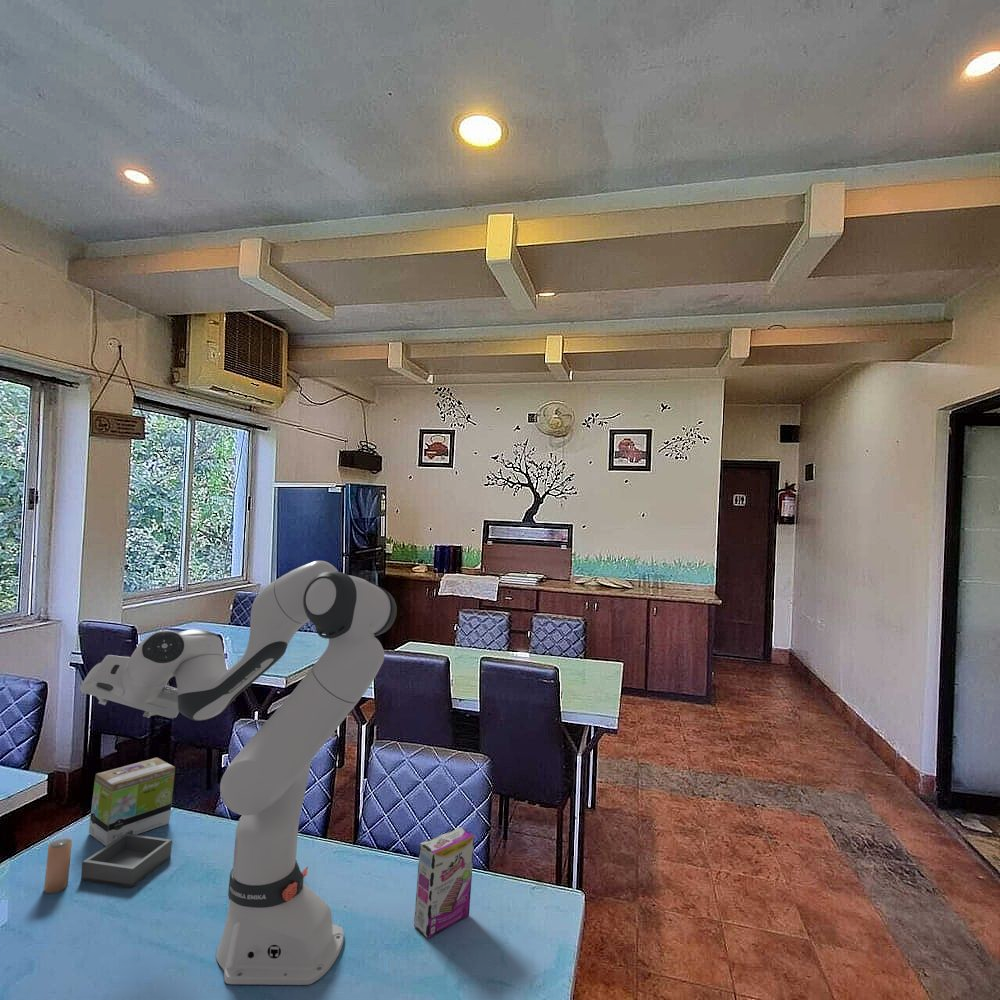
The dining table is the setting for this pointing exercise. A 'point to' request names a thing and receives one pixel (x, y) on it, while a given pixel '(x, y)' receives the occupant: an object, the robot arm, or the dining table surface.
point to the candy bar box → (444, 881)
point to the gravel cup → (57, 865)
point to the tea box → (131, 799)
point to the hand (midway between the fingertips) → (125, 707)
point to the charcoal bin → (126, 860)
